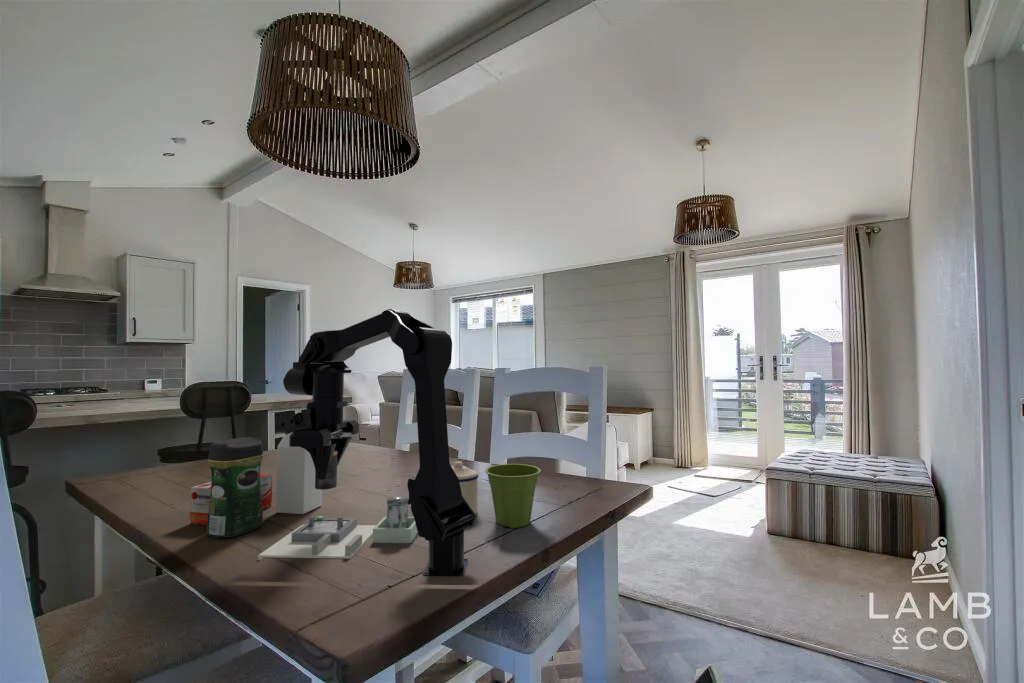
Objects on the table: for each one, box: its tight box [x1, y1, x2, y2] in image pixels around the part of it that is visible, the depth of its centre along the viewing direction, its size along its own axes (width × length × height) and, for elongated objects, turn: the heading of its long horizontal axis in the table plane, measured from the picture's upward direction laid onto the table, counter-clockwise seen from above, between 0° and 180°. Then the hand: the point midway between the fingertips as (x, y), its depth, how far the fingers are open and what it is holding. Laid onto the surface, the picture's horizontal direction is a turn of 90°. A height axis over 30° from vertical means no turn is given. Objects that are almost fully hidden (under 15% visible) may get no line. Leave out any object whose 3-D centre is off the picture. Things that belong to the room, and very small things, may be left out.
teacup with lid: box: [451, 460, 479, 515], centre depth 109 cm, size 12×9×12 cm
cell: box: [315, 450, 338, 491], centre depth 94 cm, size 4×4×7 cm
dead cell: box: [386, 496, 409, 528], centre depth 93 cm, size 4×4×7 cm
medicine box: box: [189, 473, 273, 526], centre depth 108 cm, size 15×8×8 cm, turn 167°
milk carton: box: [275, 432, 323, 515], centre depth 112 cm, size 7×7×19 cm
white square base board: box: [257, 515, 377, 561], centre depth 90 cm, size 16×16×3 cm
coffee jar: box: [206, 436, 264, 539], centre depth 97 cm, size 10×8×19 cm
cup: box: [372, 516, 418, 544], centre depth 93 cm, size 7×7×3 cm
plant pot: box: [484, 463, 542, 529], centre depth 102 cm, size 12×12×11 cm
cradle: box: [302, 515, 348, 532], centre depth 93 cm, size 6×6×3 cm
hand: (326, 476), depth 94 cm, fingers closed on cell, 4 cm apart
